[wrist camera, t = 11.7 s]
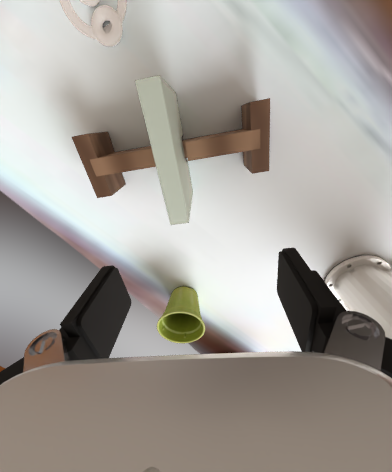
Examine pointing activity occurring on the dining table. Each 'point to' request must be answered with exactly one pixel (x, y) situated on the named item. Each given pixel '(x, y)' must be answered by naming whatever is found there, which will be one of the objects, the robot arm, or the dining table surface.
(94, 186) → the walnut slot rail
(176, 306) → the plant pot
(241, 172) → the dining table surface
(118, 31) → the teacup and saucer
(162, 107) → the sage slot plate
